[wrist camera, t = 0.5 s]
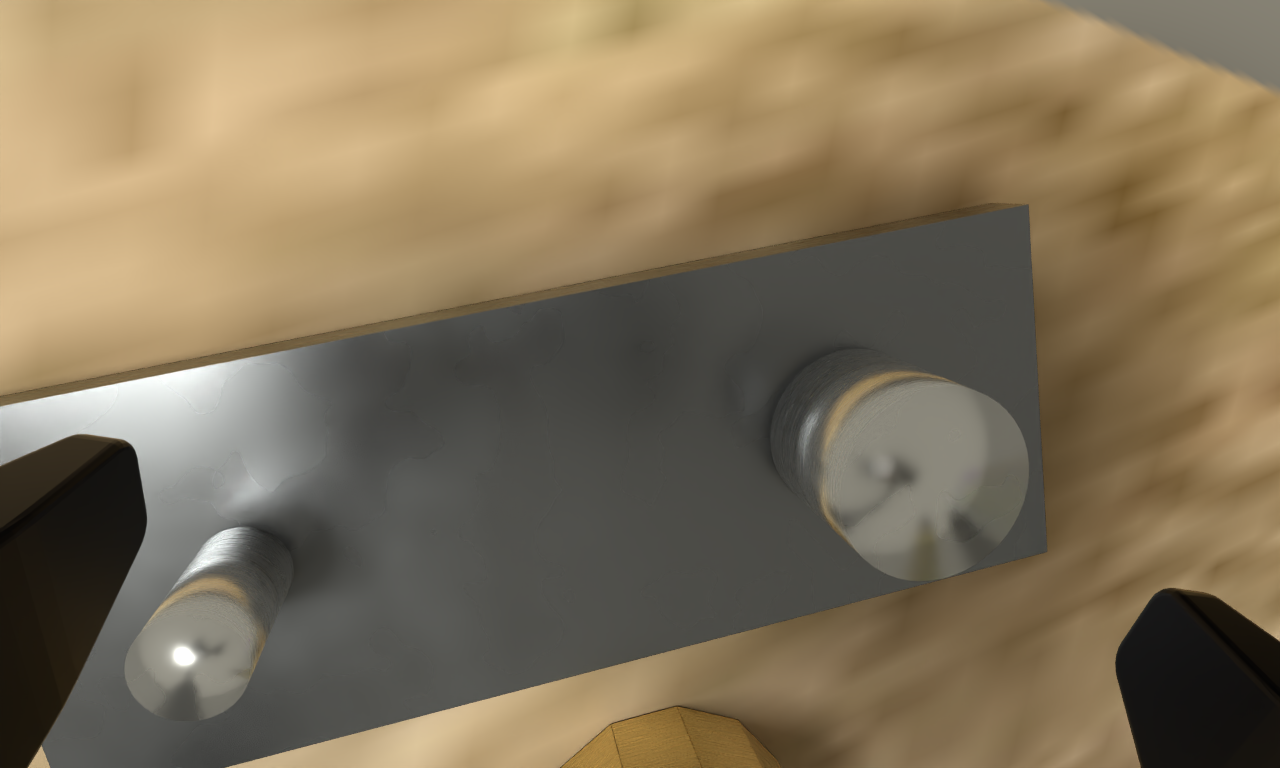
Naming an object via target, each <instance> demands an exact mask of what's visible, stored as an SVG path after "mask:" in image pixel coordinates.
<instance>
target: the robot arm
mask: <svg viewBox="0 0 1280 768" xmlns="http://www.w3.org/2000/svg"><path fill="white" fill-rule="evenodd" d="M146 527H147V511H146V505H145V499H144V493H143V487H142V481H141V475H140V470H139V464H138V458H137V454H136V451H135V449H134V448H133V446H132V445H131V444H130V443H129V442H127V441H125V440H123V439H117V438H110V437H103V436H96V435H89V434H76V435H72V436H69V437H66V438H64V439H61V440H59V441H57V442H54V443H52V444H50V445H47V446H45V447H43V448H40V449H38V450H36V451H33V452H31V453H29V454H26V455H24V456H22V457H19V458H17V459H15V460H12V461H10V462H8V463H5V464H3V465H1V466H0V768H28V766H29V765H30V763H31V762H32V760H33V758H34V757H35V755H36V753H37V752H38V750H39V749H40V747H41V745H42V744H43V742H44V740H45V739H46V737H47V735H48V734H49V732H50V730H51V729H52V727H53V725H54V723H55V722H56V720H57V718H58V716H59V715H60V713H61V711H62V710H63V708H64V706H65V704H66V702H67V700H68V698H69V696H70V694H71V692H72V690H73V688H74V686H75V684H76V682H77V680H78V678H79V676H80V674H81V672H82V670H83V668H84V666H85V663H86V661H87V659H88V657H89V655H90V653H91V651H92V649H93V647H94V644H95V642H96V640H97V638H98V636H99V634H100V632H101V630H102V628H103V625H104V623H105V621H106V619H107V617H108V615H109V613H110V611H111V609H112V606H113V604H114V602H115V600H116V598H117V596H118V594H119V592H120V589H121V587H122V585H123V583H124V581H125V579H126V577H127V575H128V573H129V570H130V568H131V566H132V564H133V562H134V560H135V558H136V556H137V554H138V551H139V549H140V547H141V545H142V542H143V540H144V536H145V533H146ZM1115 665H1116V675H1117V679H1118V683H1119V687H1120V691H1121V694H1122V698H1123V702H1124V705H1125V709H1126V713H1127V717H1128V720H1129V724H1130V728H1131V732H1132V735H1133V739H1134V743H1135V747H1136V750H1137V754H1138V758H1139V762H1140V765H1141V768H1280V641H1279V640H1277V639H1276V638H1274V637H1273V636H1271V635H1270V634H1269V633H1267V632H1266V631H1264V630H1263V629H1261V628H1260V627H1259V626H1257V625H1256V624H1254V623H1253V622H1252V621H1250V620H1249V619H1247V618H1246V617H1244V616H1243V615H1242V614H1240V613H1239V612H1237V611H1236V610H1235V609H1233V608H1232V607H1230V606H1229V605H1227V604H1226V603H1225V602H1223V601H1222V600H1220V599H1219V598H1217V597H1215V596H1213V595H1211V594H1208V593H1204V592H1198V591H1191V590H1184V589H1177V588H1167V589H1163V590H1161V591H1159V592H1158V593H1156V594H1155V595H1154V596H1153V597H1152V598H1151V600H1150V601H1149V602H1148V604H1147V605H1146V607H1145V608H1144V610H1143V611H1142V613H1141V614H1140V616H1139V617H1138V619H1137V620H1136V622H1135V623H1134V625H1133V626H1132V628H1131V629H1130V631H1129V632H1128V634H1127V635H1126V637H1125V638H1124V639H1123V641H1122V642H1121V644H1120V646H1119V648H1118V651H1117V654H1116V662H1115Z"/></svg>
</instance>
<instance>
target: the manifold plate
mask: <svg viewBox="0 0 1280 768" xmlns="http://www.w3.org/2000/svg"><path fill="white" fill-rule="evenodd" d="M76 434H89V435H96V436H103V437H110V438H117V439H123V440H125V441H127V442H129V443H130V444H131V445H132V446H133V448H134V449H135V451H136V454H137V458H138V464H139V470H140V475H141V481H142V487H143V493H144V499H145V505H146V511H147V527H146V533H145V536H144V540H143V542H142V545H141V547H140V549H139V551H138V554H137V556H136V558H135V560H134V562H133V564H132V566H131V568H130V570H129V573H128V575H127V577H126V579H125V581H124V583H123V585H122V587H121V589H120V592H119V594H118V596H117V598H116V600H115V602H114V604H113V606H112V609H111V611H110V613H109V615H108V617H107V619H106V621H105V623H104V625H103V628H102V630H101V632H100V634H99V636H98V638H97V640H96V642H95V644H94V647H93V649H92V651H91V653H90V655H89V657H88V659H87V661H86V663H85V666H84V668H83V670H82V672H81V674H80V676H79V678H78V680H77V682H76V684H75V686H74V688H73V690H72V692H71V694H70V696H69V698H68V700H67V702H66V704H65V706H64V708H63V710H62V711H61V713H60V715H59V716H58V718H57V720H56V722H55V723H54V725H53V727H52V729H51V730H50V732H49V734H48V735H47V737H46V739H45V740H44V742H43V744H42V747H43V750H44V752H45V755H46V757H47V760H48V762H49V765H50V767H51V768H225V767H229V766H233V765H236V764H240V763H244V762H248V761H252V760H255V759H259V758H263V757H267V756H271V755H275V754H278V753H282V752H286V751H290V750H294V749H297V748H301V747H305V746H309V745H313V744H317V743H320V742H324V741H328V740H332V739H336V738H339V737H343V736H347V735H351V734H355V733H358V732H362V731H366V730H370V729H374V728H378V727H381V726H385V725H389V724H393V723H397V722H400V721H404V720H408V719H412V718H416V717H420V716H423V715H427V714H431V713H435V712H439V711H442V710H446V709H450V708H454V707H458V706H461V705H465V704H469V703H473V702H477V701H481V700H484V699H488V698H492V697H496V696H500V695H503V694H507V693H511V692H515V691H519V690H522V689H526V688H530V687H534V686H538V685H542V684H545V683H549V682H553V681H557V680H561V679H564V678H568V677H572V676H576V675H580V674H584V673H587V672H591V671H595V670H599V669H603V668H606V667H610V666H614V665H618V664H622V663H625V662H629V661H633V660H637V659H641V658H645V657H648V656H652V655H656V654H660V653H664V652H667V651H671V650H675V649H679V648H683V647H686V646H690V645H694V644H698V643H702V642H706V641H709V640H713V639H717V638H721V637H725V636H728V635H732V634H736V633H740V632H744V631H748V630H751V629H755V628H759V627H763V626H767V625H770V624H774V623H778V622H782V621H786V620H789V619H793V618H797V617H801V616H805V615H809V614H812V613H816V612H820V611H824V610H828V609H831V608H835V607H839V606H843V605H847V604H850V603H854V602H858V601H862V600H866V599H870V598H873V597H877V596H881V595H885V594H889V593H892V592H896V591H900V590H904V589H908V588H912V587H915V586H919V585H923V584H927V583H931V582H934V581H938V580H942V579H946V578H950V577H953V576H957V575H961V574H965V573H969V572H973V571H976V570H980V569H984V568H988V567H992V566H995V565H999V564H1003V563H1007V562H1011V561H1014V560H1018V559H1022V558H1026V557H1030V556H1034V555H1037V554H1041V553H1045V552H1047V538H1046V520H1045V501H1044V483H1043V465H1042V446H1041V428H1040V409H1039V391H1038V372H1037V354H1036V335H1035V317H1034V298H1033V280H1032V261H1031V243H1030V224H1029V206H1028V204H1001V203H990V204H985V205H979V206H974V207H969V208H964V209H959V210H954V211H949V212H944V213H938V214H933V215H928V216H923V217H918V218H913V219H908V220H903V221H897V222H892V223H887V224H882V225H877V226H872V227H867V228H861V229H856V230H851V231H846V232H841V233H836V234H831V235H826V236H820V237H815V238H810V239H805V240H800V241H795V242H790V243H785V244H779V245H774V246H769V247H764V248H759V249H754V250H749V251H744V252H738V253H733V254H728V255H723V256H718V257H713V258H708V259H703V260H697V261H692V262H687V263H682V264H677V265H672V266H667V267H661V268H656V269H651V270H646V271H641V272H636V273H631V274H626V275H620V276H615V277H610V278H605V279H600V280H595V281H590V282H585V283H579V284H574V285H569V286H564V287H559V288H554V289H549V290H544V291H538V292H533V293H528V294H523V295H518V296H513V297H508V298H502V299H497V300H492V301H487V302H482V303H477V304H472V305H467V306H461V307H456V308H451V309H446V310H441V311H436V312H431V313H426V314H420V315H415V316H410V317H405V318H400V319H395V320H390V321H385V322H379V323H374V324H369V325H364V326H359V327H354V328H349V329H343V330H338V331H333V332H328V333H323V334H318V335H313V336H308V337H302V338H297V339H292V340H287V341H282V342H277V343H272V344H267V345H261V346H256V347H251V348H246V349H241V350H236V351H231V352H226V353H220V354H215V355H210V356H205V357H200V358H195V359H190V360H185V361H179V362H174V363H169V364H164V365H159V366H154V367H149V368H143V369H138V370H133V371H128V372H123V373H118V374H113V375H108V376H102V377H97V378H92V379H87V380H82V381H77V382H72V383H67V384H61V385H56V386H51V387H46V388H41V389H36V390H31V391H26V392H20V393H15V394H10V395H5V396H0V466H1V465H3V464H5V463H8V462H10V461H12V460H15V459H17V458H19V457H22V456H24V455H26V454H29V453H31V452H33V451H36V450H38V449H40V448H43V447H45V446H47V445H50V444H52V443H54V442H57V441H59V440H61V439H64V438H66V437H69V436H72V435H76Z"/></svg>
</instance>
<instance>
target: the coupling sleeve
mask: <svg viewBox="0 0 1280 768" xmlns="http://www.w3.org/2000/svg"><path fill="white" fill-rule="evenodd" d="M561 768H781V767H780V765H779V763H778V761H777V759H776V758H775V757H774V756H773V755H772V754H771V753H770V752H769V751H768V750H767V749H766V748H765V747H764V746H763V745H762V744H761V743H760V742H759V741H758V740H757V739H756V738H755V737H754V736H753V735H752V734H751V733H750V732H749V731H748V730H747V729H746V728H745V727H744V726H743V725H742V724H741V723H740V722H739V721H738V720H736V719H732V718H727V717H723V716H718V715H714V714H710V713H705V712H701V711H696V710H692V709H687V708H683V707H678V706H676V707H672V708H669V709H665V710H661V711H658V712H654V713H650V714H647V715H643V716H639V717H636V718H632V719H628V720H625V721H621V722H617V723H614V724H611V725H609V726H608V727H607V728H606V729H605V730H604V731H602V732H601V733H600V734H599V735H598V736H597V737H596V738H594V739H593V740H592V741H591V742H590V743H589V744H588V745H586V746H585V747H584V748H583V749H582V750H581V751H579V752H578V753H577V754H576V755H575V756H574V757H573V758H571V759H570V760H569V761H568V762H567V763H566V764H565V765H563V766H562V767H561Z"/></svg>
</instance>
